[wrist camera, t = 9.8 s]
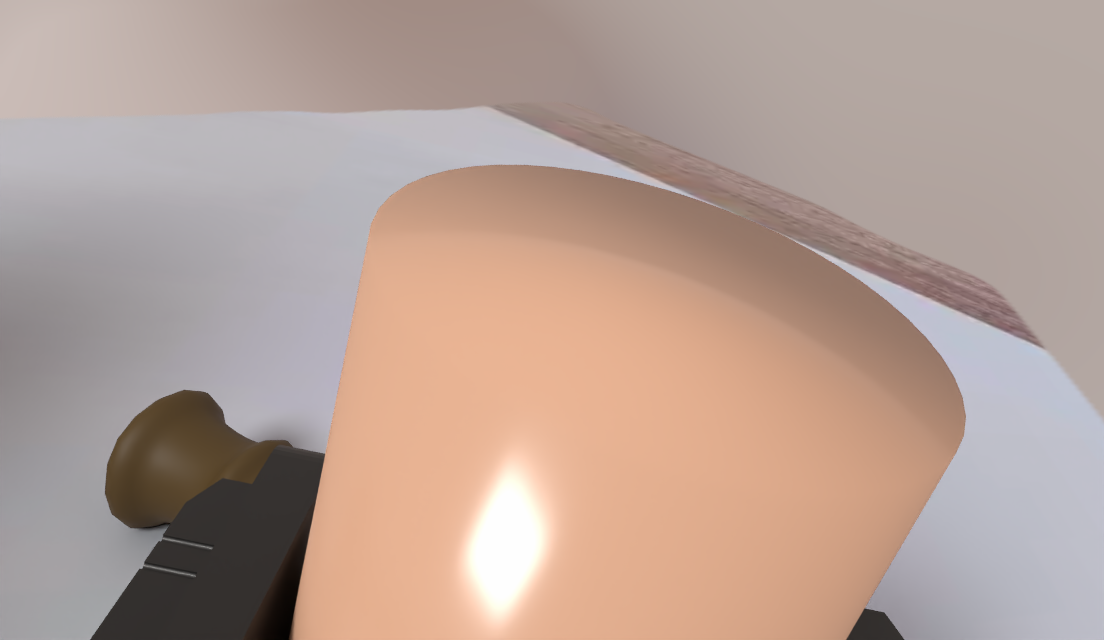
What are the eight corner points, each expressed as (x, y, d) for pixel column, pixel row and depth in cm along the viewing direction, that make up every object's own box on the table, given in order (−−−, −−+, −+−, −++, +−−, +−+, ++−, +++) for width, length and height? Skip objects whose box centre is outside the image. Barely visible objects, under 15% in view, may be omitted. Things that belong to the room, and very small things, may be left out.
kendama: (249, 454, 40) (701, 675, 33) (43, 591, 32) (575, 919, 25) (247, 327, 37) (740, 540, 30) (21, 445, 30) (613, 769, 23)
